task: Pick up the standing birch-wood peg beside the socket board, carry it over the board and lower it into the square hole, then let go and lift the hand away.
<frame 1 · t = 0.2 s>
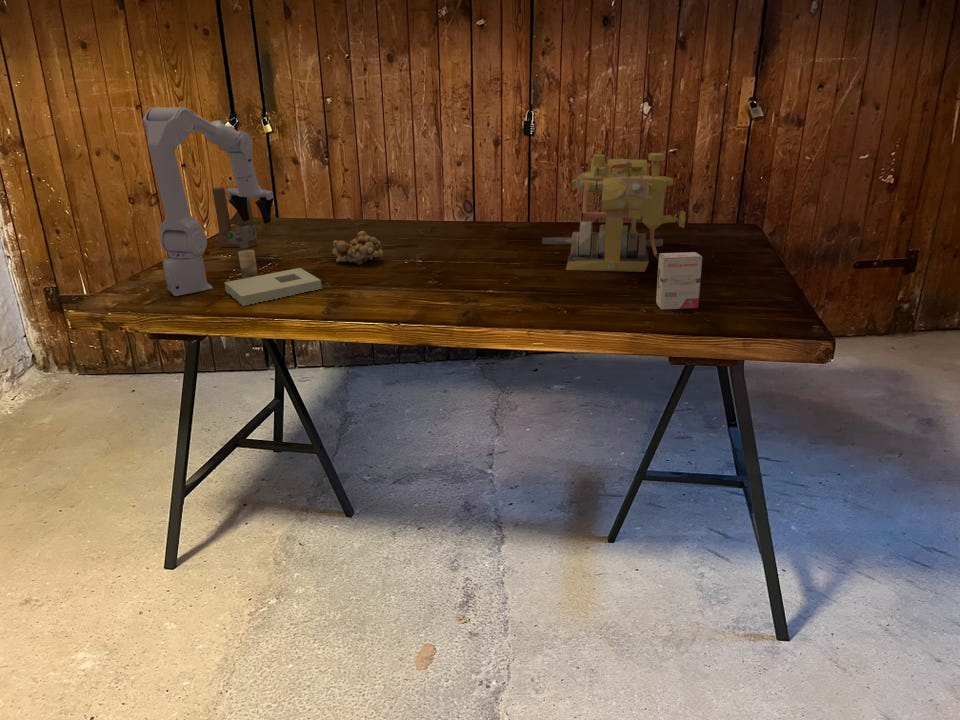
hand: (256, 221, 206), 11 cm above the table, tool pointing down, fingers open, 7 cm apart
mineral formation: (361, 262, 203), on the table
socket board: (273, 290, 181), on the table
mechanical component: (247, 263, 206), on the table
ink box: (676, 306, 162), on the table
mechanical engine: (609, 264, 194), on the table
birch peg: (250, 281, 189), on the table
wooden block: (238, 246, 224), on the table
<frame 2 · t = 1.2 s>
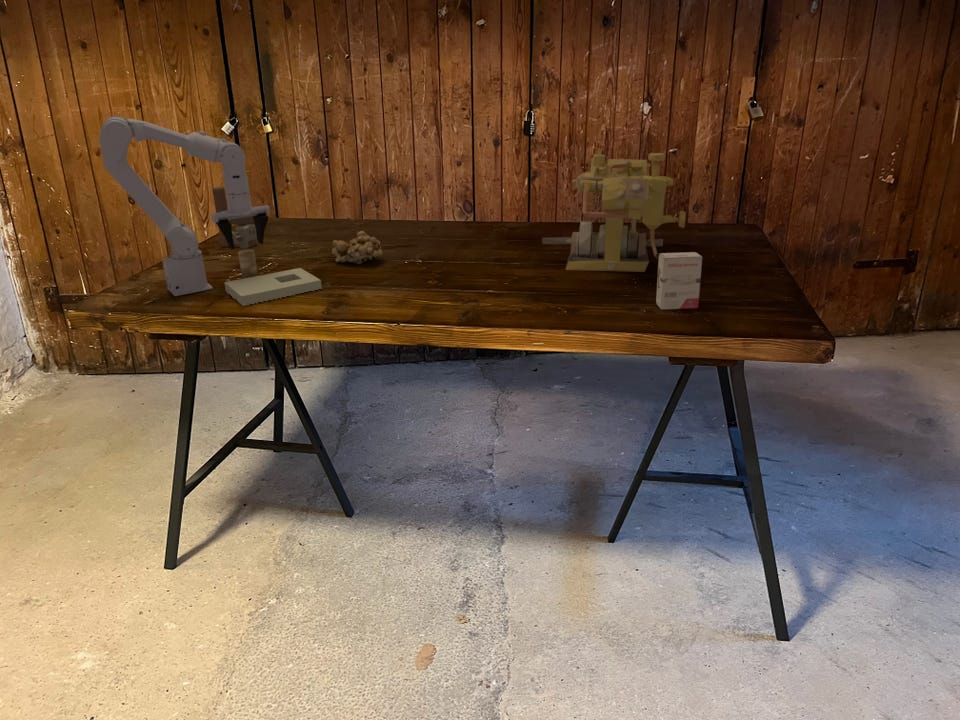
hand: (246, 245, 185), 9 cm above the table, tool pointing down, fingers open, 7 cm apart
nothing on the table moved.
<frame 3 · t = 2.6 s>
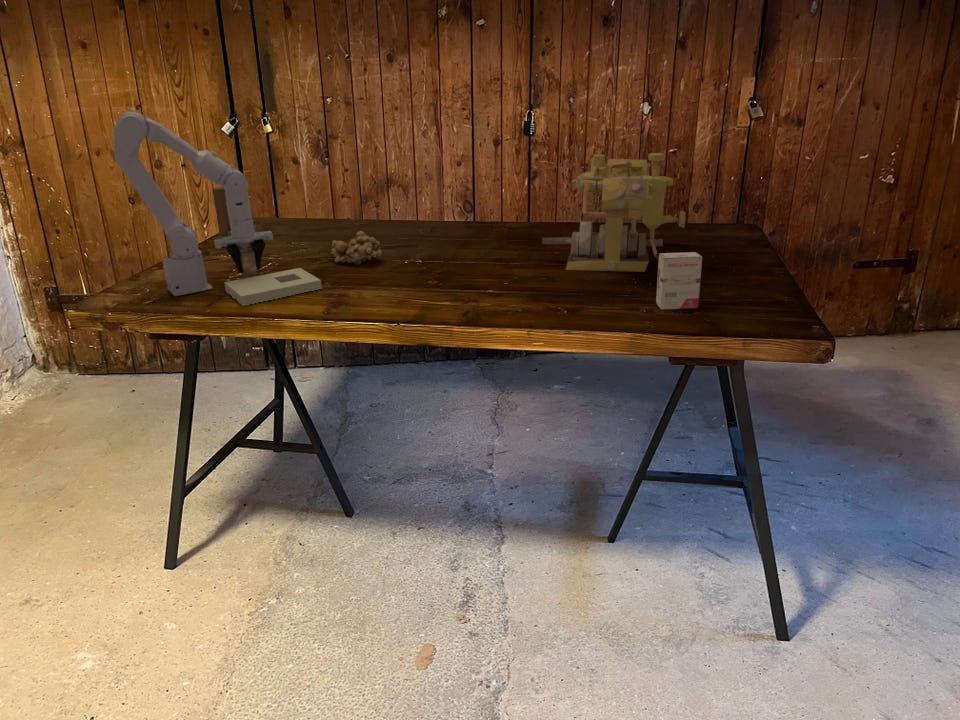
hand: (249, 270, 188), 3 cm above the table, tool pointing down, fingers closed on birch peg, 4 cm apart
birch peg: (250, 281, 189), on the table, touching gripper
everything else where it was.
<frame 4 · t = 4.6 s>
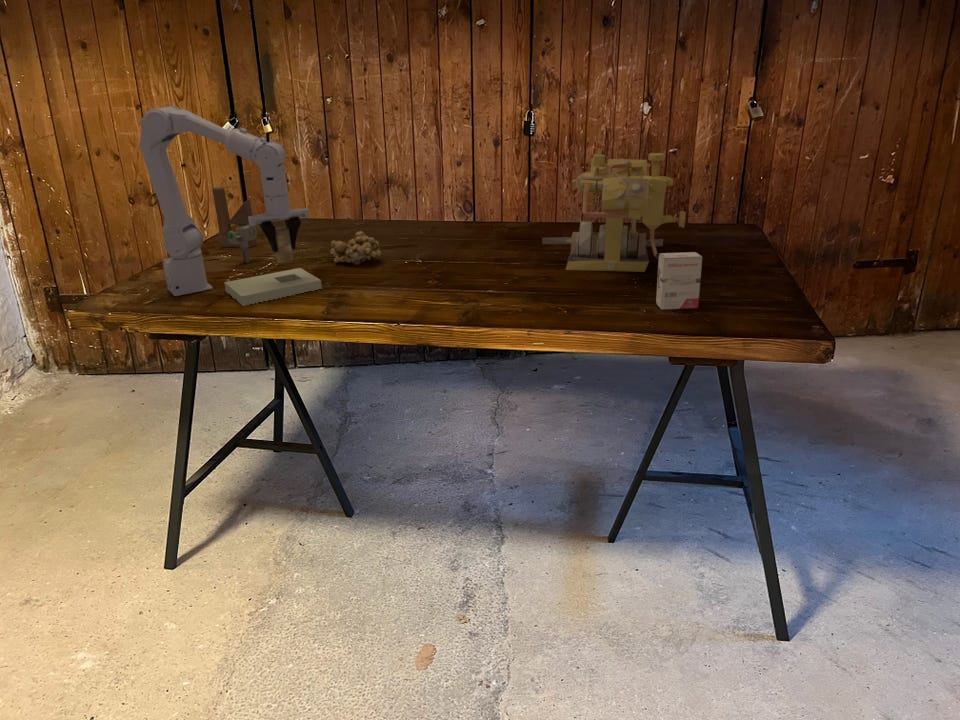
hand: (283, 249, 179), 10 cm above the table, tool pointing down, fingers closed on birch peg, 4 cm apart
birch peg: (285, 260, 180), point 7 cm above the table, touching gripper
everything else where it was.
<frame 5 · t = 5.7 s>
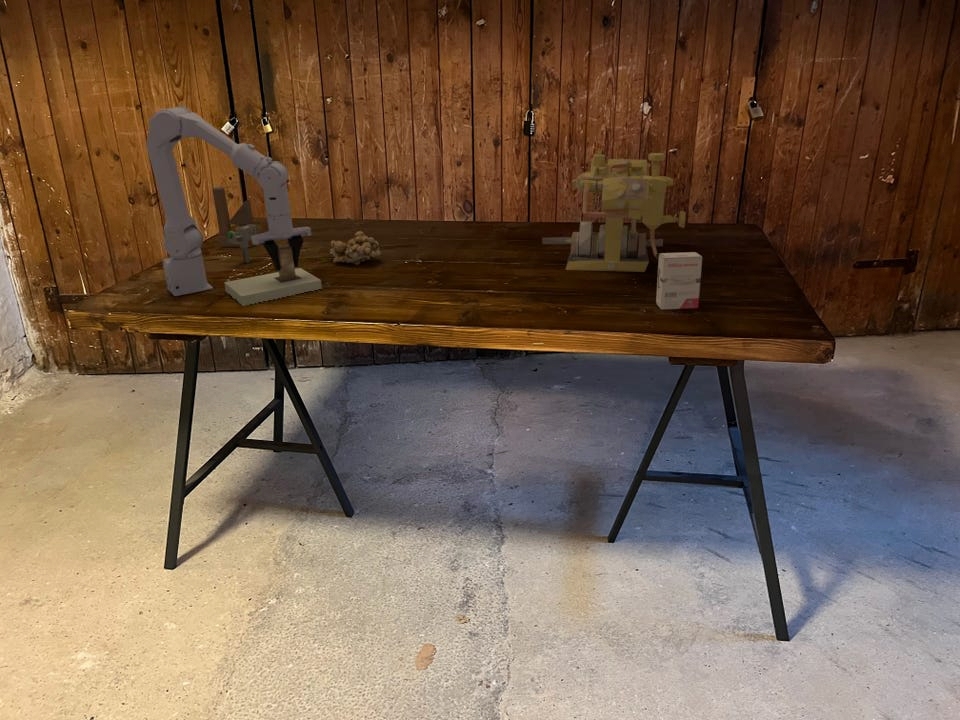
hand: (286, 267, 181), 5 cm above the table, tool pointing down, fingers closed on birch peg, 4 cm apart
birch peg: (287, 278, 182), point 2 cm above the table, touching gripper
everything else where it was.
when the fingers open (3 cm above the table, at t = 6.5 s): birch peg stays where it is, resting in socket board.
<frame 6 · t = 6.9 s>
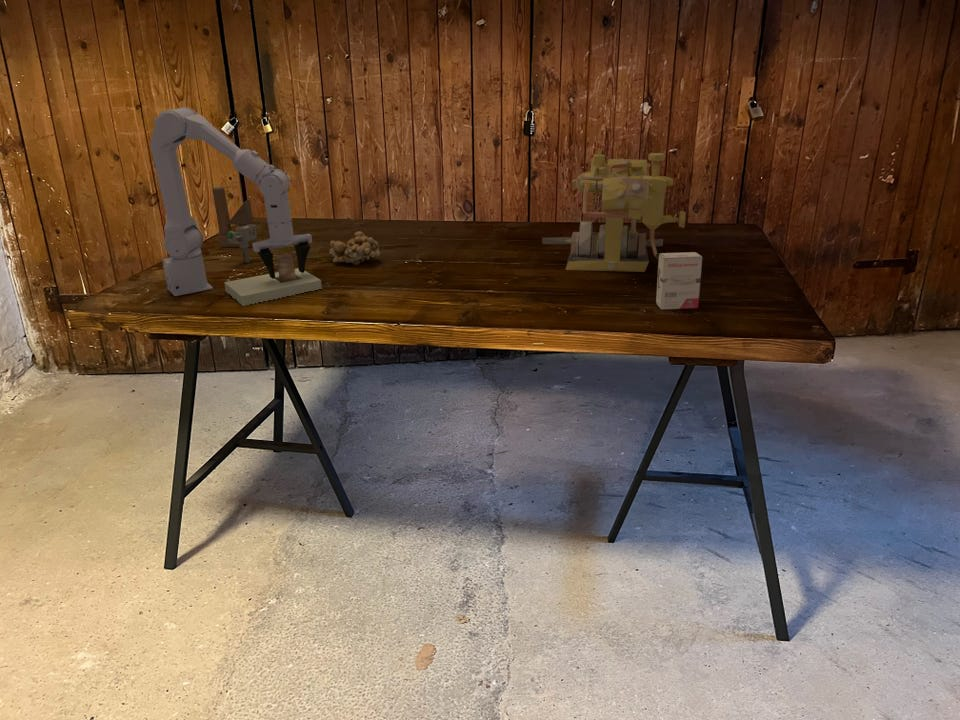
hand: (287, 274, 181), 3 cm above the table, tool pointing down, fingers open, 7 cm apart
birch peg: (289, 287, 183), resting in socket board
everything else where it was.
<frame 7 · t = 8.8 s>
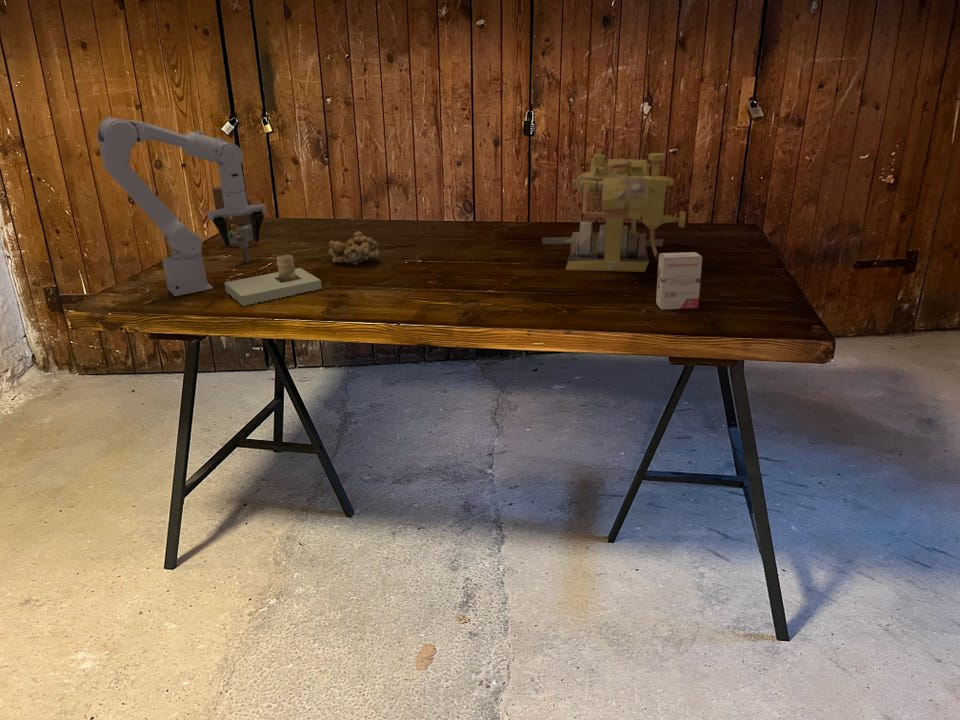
hand: (242, 243, 188), 9 cm above the table, tool pointing down, fingers open, 7 cm apart
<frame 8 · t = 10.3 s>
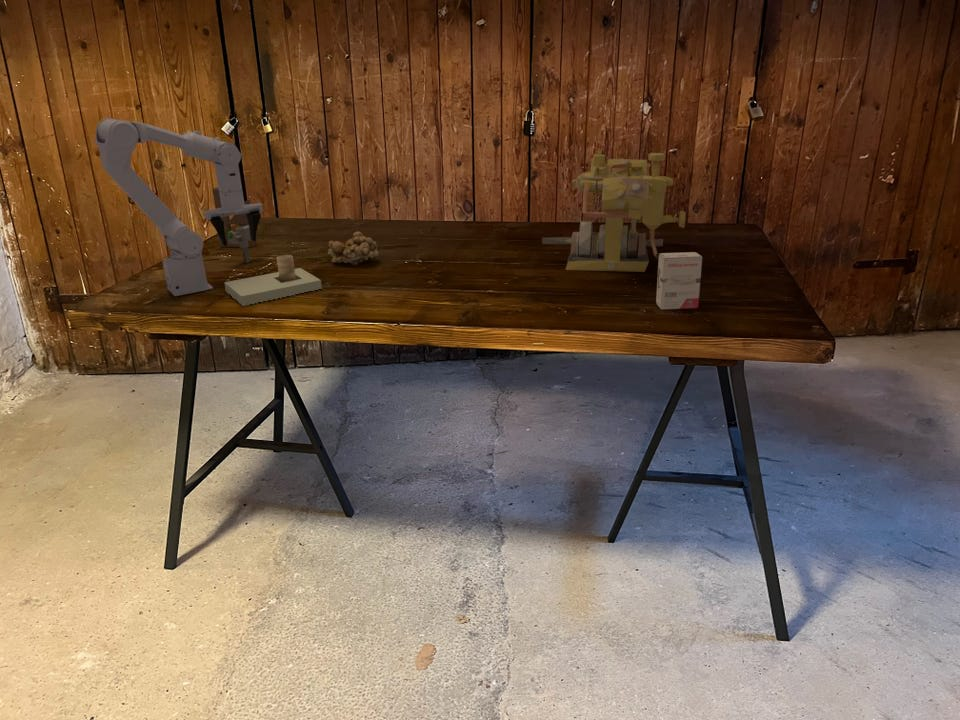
hand: (239, 242, 189), 9 cm above the table, tool pointing down, fingers open, 7 cm apart
at the end: birch peg 0.1 cm from the target spot on the socket board, point 0.0 cm above the socket board's base; birch peg tilted 0°; the gripper is holding nothing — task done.
